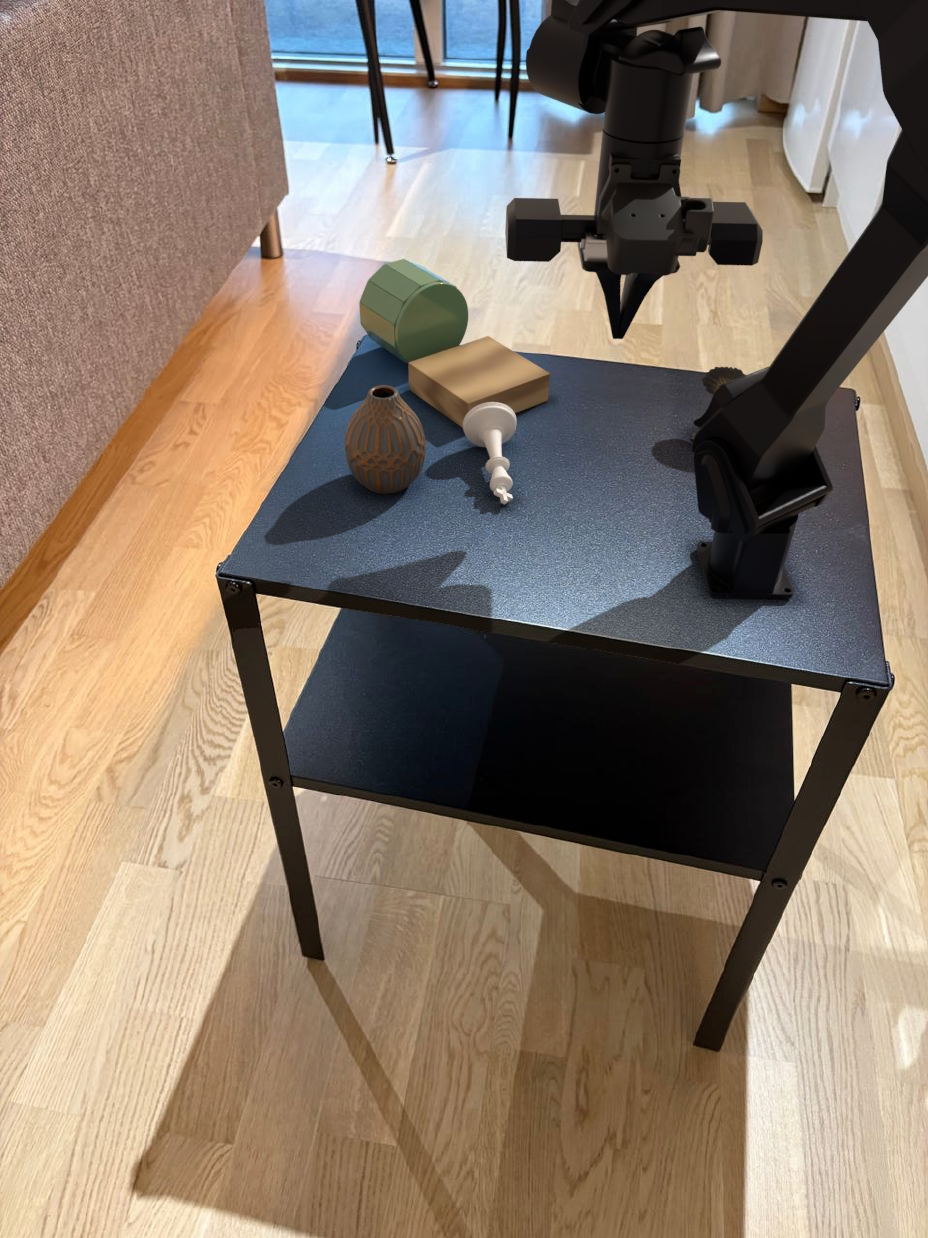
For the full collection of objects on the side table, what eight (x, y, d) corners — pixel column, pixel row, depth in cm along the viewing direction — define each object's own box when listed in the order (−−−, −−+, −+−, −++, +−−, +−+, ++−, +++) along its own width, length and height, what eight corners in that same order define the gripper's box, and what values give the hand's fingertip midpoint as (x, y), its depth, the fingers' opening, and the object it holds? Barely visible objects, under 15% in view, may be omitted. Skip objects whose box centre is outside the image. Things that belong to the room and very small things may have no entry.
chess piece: (483, 393, 88) (498, 473, 82) (527, 414, 91) (545, 493, 85) (451, 430, 91) (464, 510, 85) (494, 450, 94) (509, 528, 88)
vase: (430, 462, 91) (429, 374, 85) (420, 506, 85) (419, 415, 80) (355, 457, 91) (349, 369, 85) (340, 500, 86) (333, 410, 80)
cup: (447, 264, 98) (406, 241, 102) (383, 327, 97) (345, 301, 101) (480, 326, 105) (441, 302, 109) (421, 385, 104) (384, 359, 108)
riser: (548, 400, 99) (550, 373, 97) (467, 431, 95) (468, 403, 93) (487, 362, 105) (488, 335, 103) (408, 389, 100) (407, 362, 98)
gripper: (514, 166, 65) (504, 384, 75) (803, 171, 65) (752, 388, 75) (510, 115, 73) (501, 317, 83) (765, 120, 73) (725, 322, 83)
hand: (617, 336), depth 81 cm, fingers closed
